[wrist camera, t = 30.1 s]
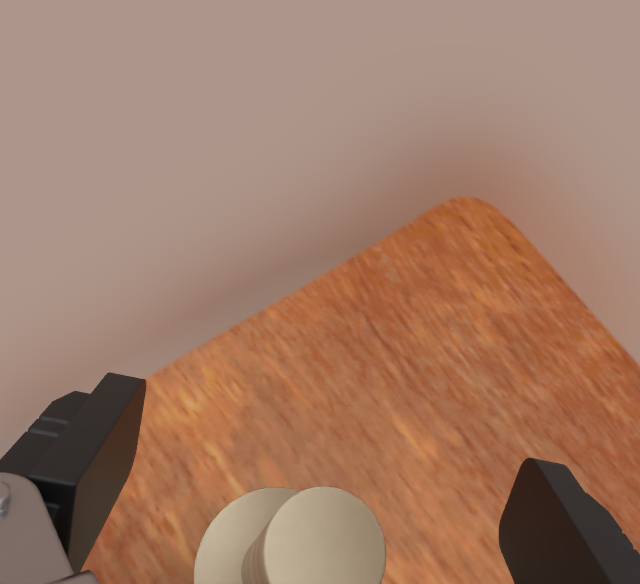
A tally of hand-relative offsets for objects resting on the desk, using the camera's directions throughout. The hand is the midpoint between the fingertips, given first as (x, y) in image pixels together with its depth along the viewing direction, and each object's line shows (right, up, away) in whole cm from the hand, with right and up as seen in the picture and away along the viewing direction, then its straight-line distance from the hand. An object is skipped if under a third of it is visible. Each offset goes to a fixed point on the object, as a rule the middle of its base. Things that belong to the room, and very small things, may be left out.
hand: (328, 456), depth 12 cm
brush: (-2, -8, +11) cm, 14 cm away
